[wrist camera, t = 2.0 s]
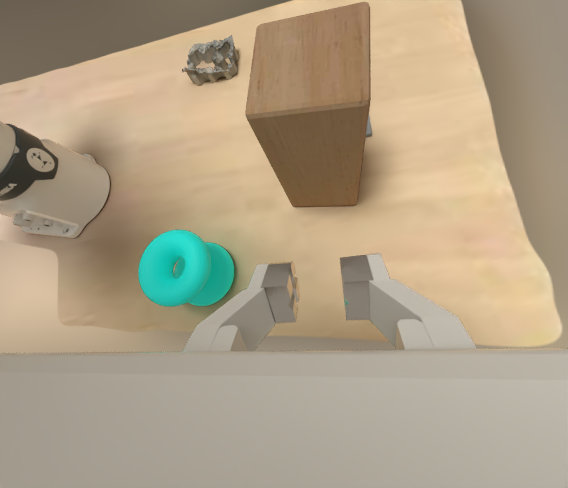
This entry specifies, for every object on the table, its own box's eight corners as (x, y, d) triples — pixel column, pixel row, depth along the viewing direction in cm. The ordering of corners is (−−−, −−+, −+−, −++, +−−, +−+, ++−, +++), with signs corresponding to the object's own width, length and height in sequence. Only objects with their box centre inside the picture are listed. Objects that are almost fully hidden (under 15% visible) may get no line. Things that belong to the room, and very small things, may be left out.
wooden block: (357, 148, 38) (370, -3, 19) (356, 206, 36) (371, 99, 17) (295, 152, 41) (255, 22, 22) (291, 207, 39) (242, 115, 20)
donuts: (208, 293, 28) (135, 316, 29) (243, 296, 37) (186, 313, 39) (196, 216, 30) (130, 240, 32) (230, 237, 40) (178, 255, 41)
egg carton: (191, 89, 51) (178, 71, 47) (196, 60, 53) (185, 41, 49) (237, 81, 48) (228, 62, 44) (241, 51, 50) (233, 30, 46)
